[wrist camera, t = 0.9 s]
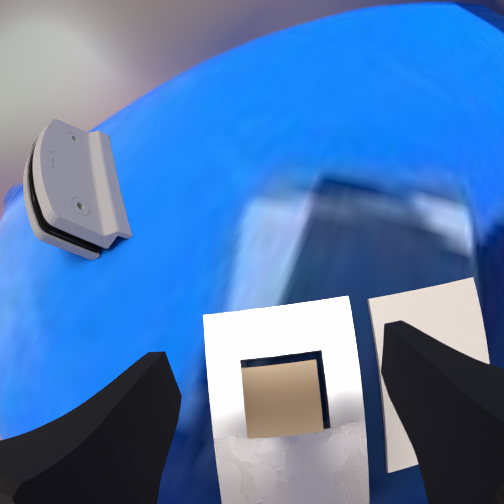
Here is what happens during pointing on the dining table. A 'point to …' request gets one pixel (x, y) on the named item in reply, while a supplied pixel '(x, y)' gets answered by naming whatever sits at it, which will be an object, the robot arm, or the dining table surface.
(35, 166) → the hinge
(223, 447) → the white frame
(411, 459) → the pad
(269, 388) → the peg
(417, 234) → the dining table surface
